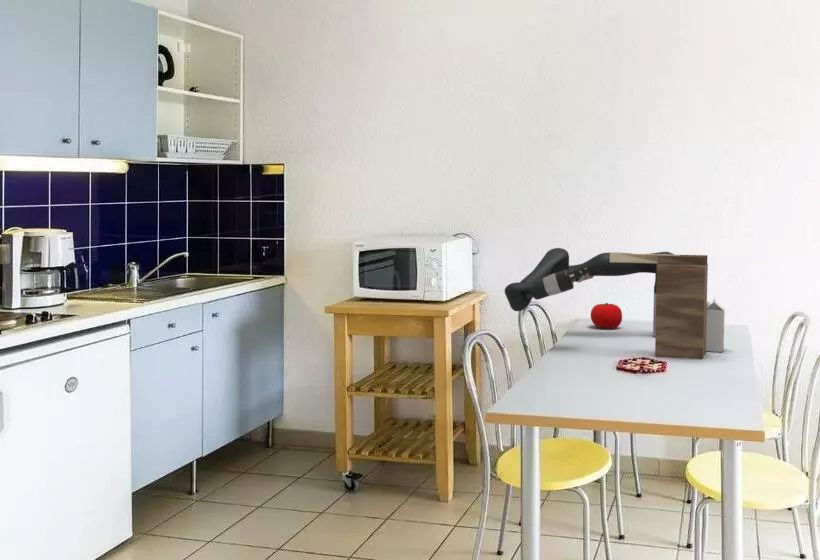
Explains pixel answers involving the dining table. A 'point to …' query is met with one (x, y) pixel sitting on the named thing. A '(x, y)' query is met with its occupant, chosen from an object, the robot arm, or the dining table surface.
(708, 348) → the milk carton
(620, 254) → the wooden block
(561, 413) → the dining table surface
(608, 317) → the tomato
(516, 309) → the robot arm
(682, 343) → the pedestal
